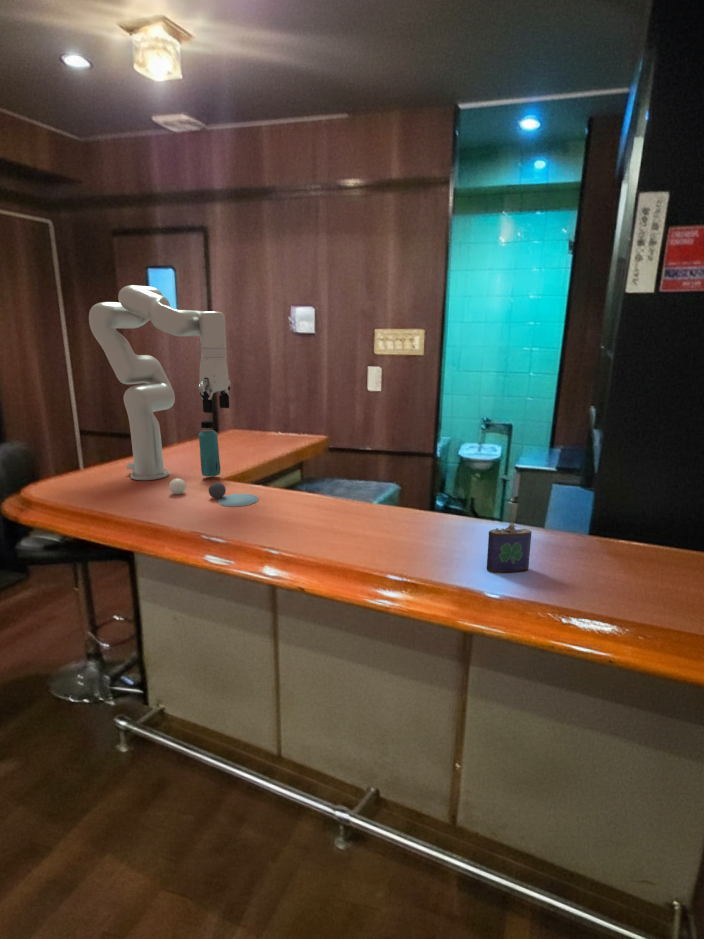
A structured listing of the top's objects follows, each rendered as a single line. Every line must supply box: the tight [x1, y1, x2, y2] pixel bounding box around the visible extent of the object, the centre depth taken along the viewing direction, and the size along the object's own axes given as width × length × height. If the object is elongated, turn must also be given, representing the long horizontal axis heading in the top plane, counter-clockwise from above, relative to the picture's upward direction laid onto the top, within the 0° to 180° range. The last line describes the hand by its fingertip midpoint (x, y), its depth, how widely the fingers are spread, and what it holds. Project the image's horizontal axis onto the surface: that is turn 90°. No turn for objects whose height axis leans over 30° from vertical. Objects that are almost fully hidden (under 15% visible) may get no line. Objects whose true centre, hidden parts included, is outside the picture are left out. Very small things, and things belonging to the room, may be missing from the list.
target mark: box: [217, 493, 259, 507], centre depth 161 cm, size 12×12×1 cm
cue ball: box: [168, 477, 187, 495], centre depth 167 cm, size 5×5×5 cm
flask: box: [486, 522, 532, 574], centre depth 114 cm, size 9×3×11 cm, turn 95°
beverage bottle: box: [198, 420, 221, 477], centre depth 182 cm, size 6×7×20 cm
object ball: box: [208, 481, 227, 500], centre depth 163 cm, size 5×5×5 cm
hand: (216, 410), depth 166 cm, fingers open, 9 cm apart
